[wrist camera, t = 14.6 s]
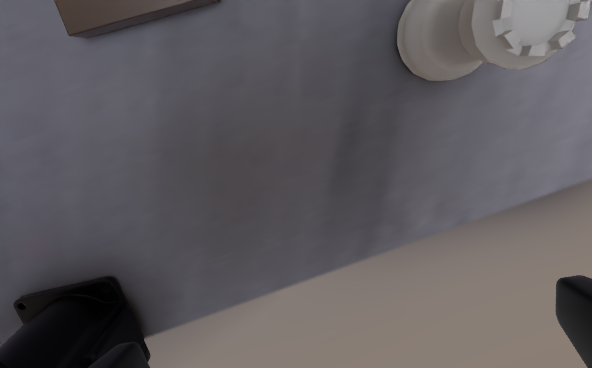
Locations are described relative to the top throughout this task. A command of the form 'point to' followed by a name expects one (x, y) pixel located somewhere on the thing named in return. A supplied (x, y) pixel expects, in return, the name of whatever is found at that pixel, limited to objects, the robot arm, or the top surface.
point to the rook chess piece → (483, 34)
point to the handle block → (117, 13)
